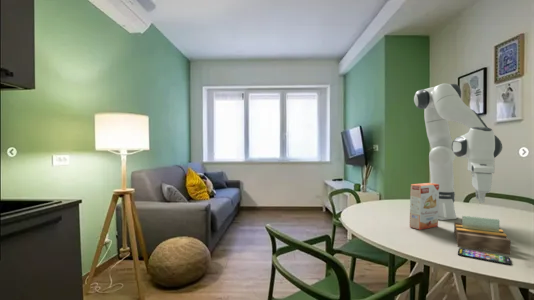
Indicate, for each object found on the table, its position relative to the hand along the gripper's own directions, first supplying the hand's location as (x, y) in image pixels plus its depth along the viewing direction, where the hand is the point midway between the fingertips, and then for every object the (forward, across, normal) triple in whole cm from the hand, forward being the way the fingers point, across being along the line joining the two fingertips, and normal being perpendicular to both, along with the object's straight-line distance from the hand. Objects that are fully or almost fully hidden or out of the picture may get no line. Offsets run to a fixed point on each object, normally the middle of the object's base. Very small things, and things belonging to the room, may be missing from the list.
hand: (480, 200), depth 118 cm
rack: (+17, 0, 0) cm, 17 cm away
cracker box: (+17, -14, -20) cm, 30 cm away
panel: (+16, 0, 0) cm, 16 cm away
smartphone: (+18, +18, -1) cm, 25 cm away
